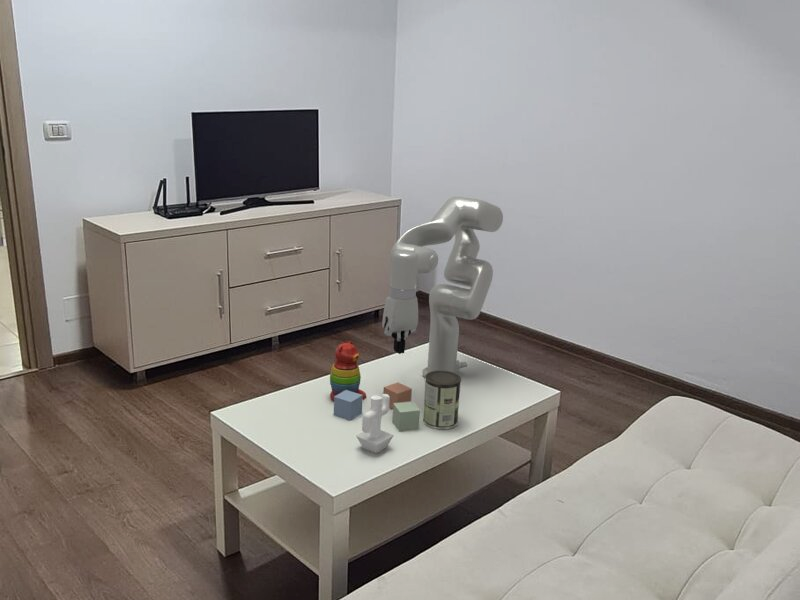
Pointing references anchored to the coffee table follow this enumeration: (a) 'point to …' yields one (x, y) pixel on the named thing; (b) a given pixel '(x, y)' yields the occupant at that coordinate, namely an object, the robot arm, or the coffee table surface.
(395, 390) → the terracotta block
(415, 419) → the sage block
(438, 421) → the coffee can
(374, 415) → the figurine
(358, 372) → the stacking bear
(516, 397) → the coffee table surface
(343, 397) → the slate block
